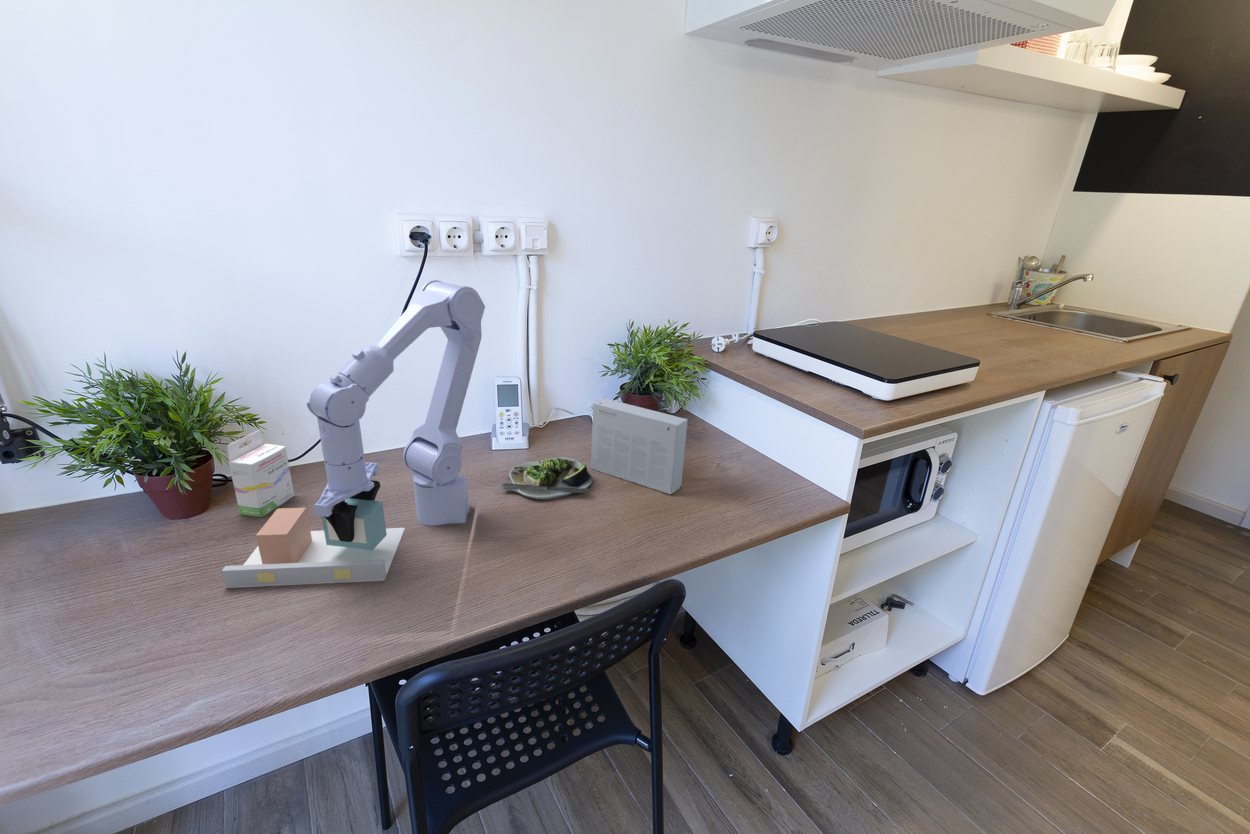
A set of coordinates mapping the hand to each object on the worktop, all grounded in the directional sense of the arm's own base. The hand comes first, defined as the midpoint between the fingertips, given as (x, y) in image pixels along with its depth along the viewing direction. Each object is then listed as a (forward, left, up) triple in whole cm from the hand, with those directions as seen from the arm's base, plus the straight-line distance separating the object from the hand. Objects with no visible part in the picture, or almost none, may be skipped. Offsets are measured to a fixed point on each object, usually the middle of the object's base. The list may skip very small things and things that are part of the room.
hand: (355, 531), depth 96 cm
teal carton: (0, 0, -2) cm, 2 cm away
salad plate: (-33, -25, -6) cm, 42 cm away
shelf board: (+5, 0, -5) cm, 7 cm away
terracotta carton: (+11, 0, -4) cm, 12 cm away
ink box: (+21, -17, -5) cm, 28 cm away
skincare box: (-51, -26, -5) cm, 57 cm away
